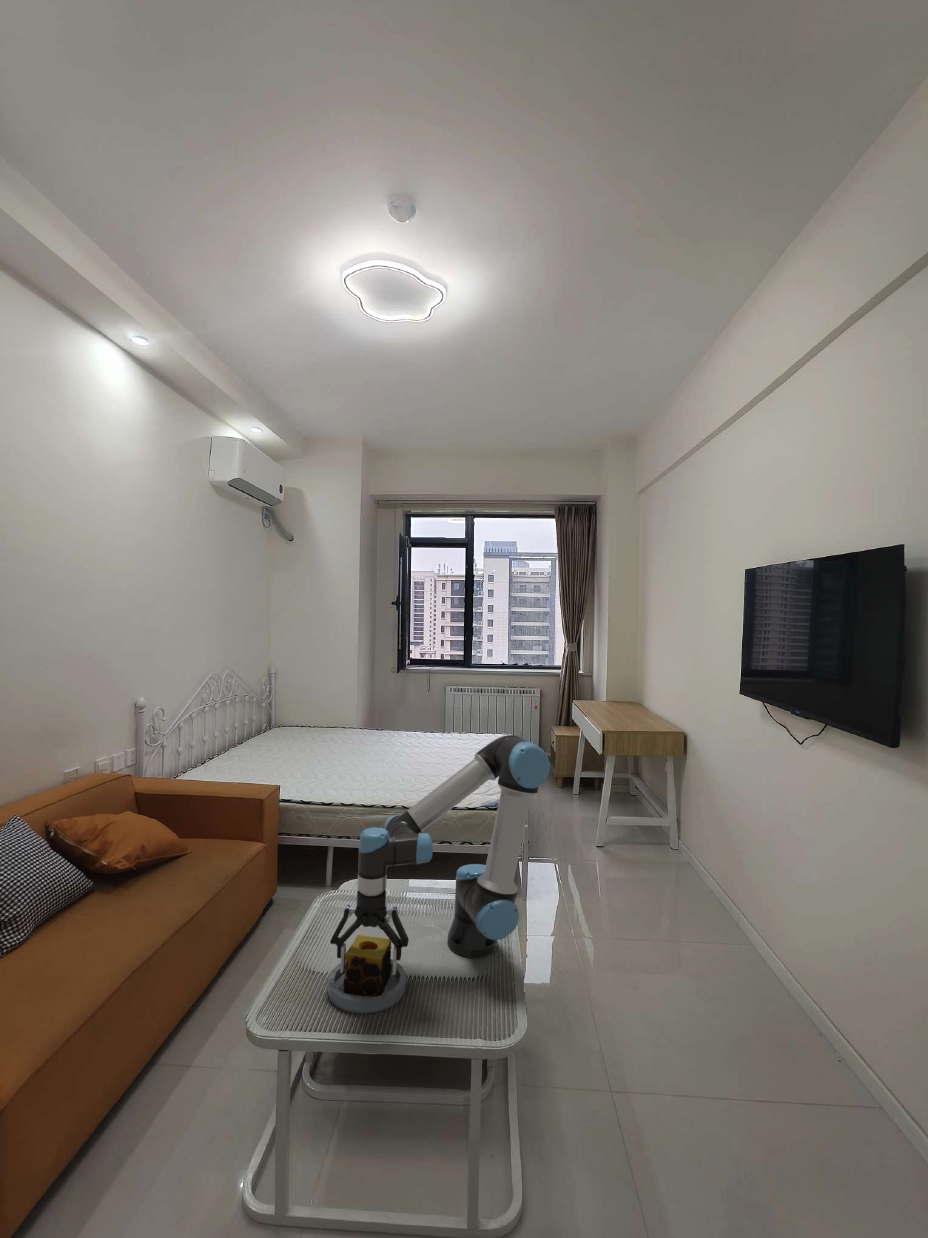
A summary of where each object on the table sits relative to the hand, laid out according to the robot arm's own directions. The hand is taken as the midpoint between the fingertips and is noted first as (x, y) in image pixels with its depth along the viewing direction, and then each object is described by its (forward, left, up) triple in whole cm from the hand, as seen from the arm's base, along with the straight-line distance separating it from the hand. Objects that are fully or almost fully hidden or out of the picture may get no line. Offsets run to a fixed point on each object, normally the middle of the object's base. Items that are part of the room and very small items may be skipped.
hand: (368, 971), depth 154 cm
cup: (+4, -37, -5) cm, 37 cm away
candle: (0, 0, -4) cm, 4 cm away
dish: (0, 0, -5) cm, 5 cm away
